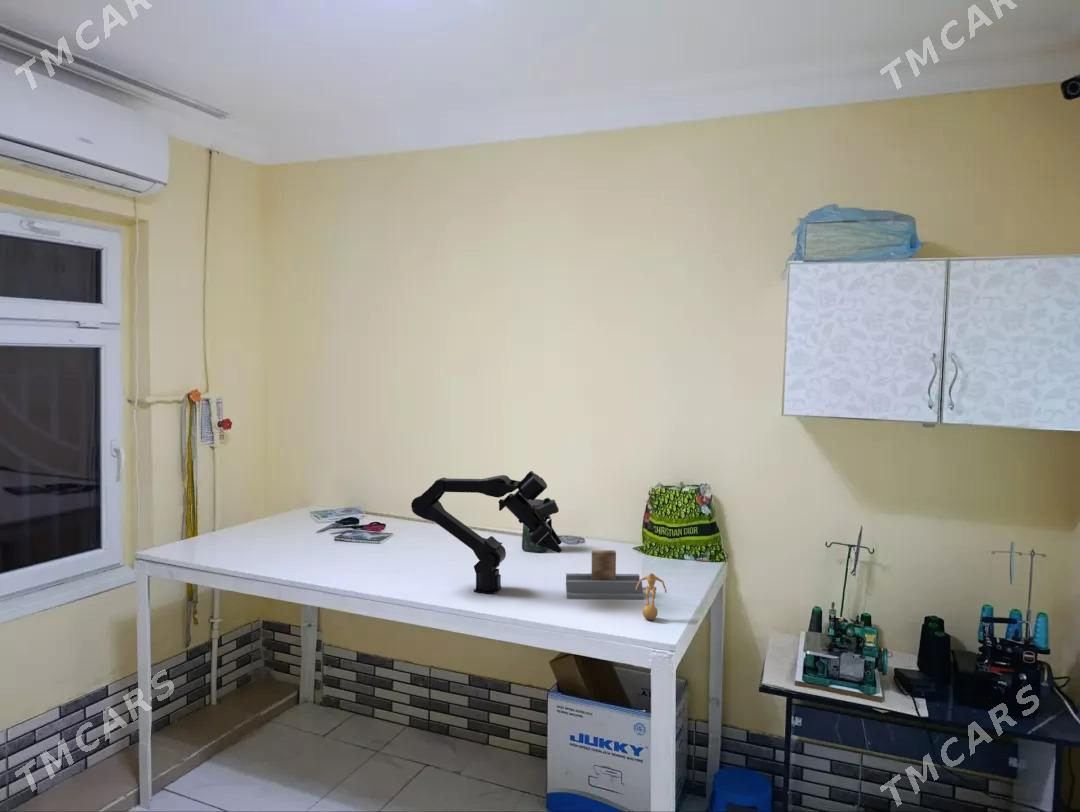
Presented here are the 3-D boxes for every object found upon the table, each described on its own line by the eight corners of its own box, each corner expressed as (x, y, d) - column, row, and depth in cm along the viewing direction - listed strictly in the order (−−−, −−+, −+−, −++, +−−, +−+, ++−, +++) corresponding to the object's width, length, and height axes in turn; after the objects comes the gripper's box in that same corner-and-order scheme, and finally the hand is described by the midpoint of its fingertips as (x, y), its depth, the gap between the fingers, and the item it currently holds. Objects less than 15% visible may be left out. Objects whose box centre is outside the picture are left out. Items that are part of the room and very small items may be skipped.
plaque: (591, 589, 213) (592, 552, 212) (591, 586, 215) (591, 550, 215) (615, 589, 213) (615, 552, 212) (614, 586, 215) (615, 550, 215)
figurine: (633, 620, 190) (633, 575, 189) (636, 612, 196) (637, 569, 195) (664, 623, 188) (665, 578, 187) (667, 615, 193) (668, 571, 193)
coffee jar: (551, 548, 263) (551, 498, 261) (543, 554, 255) (543, 502, 254) (526, 546, 266) (526, 496, 265) (518, 551, 259) (518, 500, 258)
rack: (566, 598, 207) (566, 584, 207) (565, 583, 221) (565, 570, 221) (643, 599, 207) (643, 585, 207) (637, 584, 221) (637, 571, 221)
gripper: (542, 497, 201) (581, 536, 202) (543, 485, 220) (579, 521, 220) (513, 524, 202) (553, 563, 202) (517, 510, 221) (553, 546, 221)
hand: (560, 547), depth 212 cm, fingers open, 9 cm apart
